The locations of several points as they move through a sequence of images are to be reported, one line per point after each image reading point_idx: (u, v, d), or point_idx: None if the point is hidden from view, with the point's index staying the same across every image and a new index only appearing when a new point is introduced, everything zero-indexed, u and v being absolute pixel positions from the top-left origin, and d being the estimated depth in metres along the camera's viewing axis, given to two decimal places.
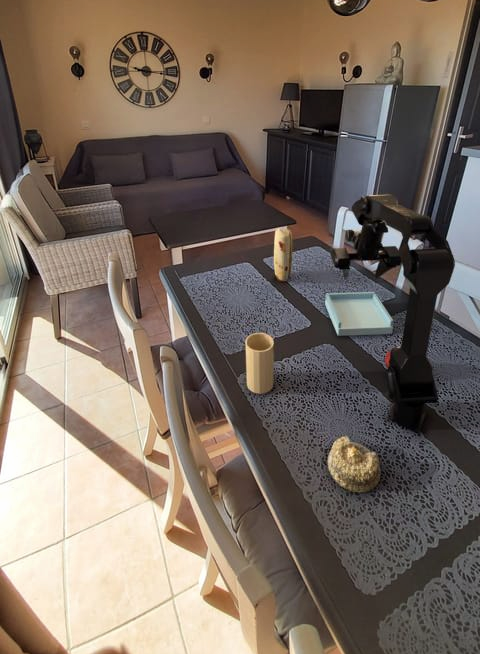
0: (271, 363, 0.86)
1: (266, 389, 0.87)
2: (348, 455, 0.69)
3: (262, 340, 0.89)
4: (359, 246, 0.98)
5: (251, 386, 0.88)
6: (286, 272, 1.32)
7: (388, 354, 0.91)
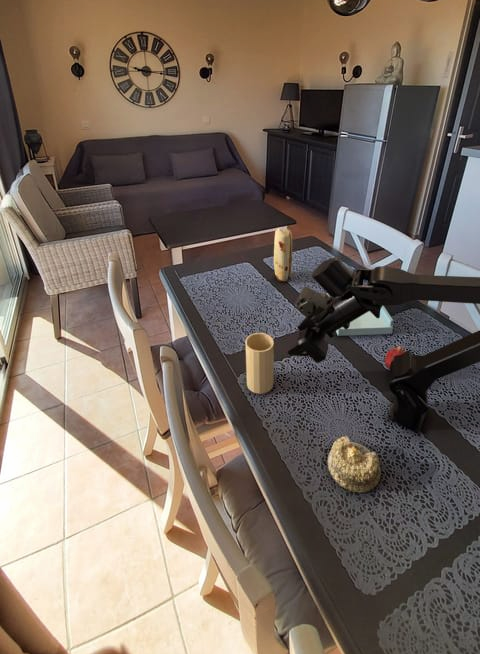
0: (271, 363, 0.86)
1: (266, 389, 0.87)
2: (348, 455, 0.69)
3: (262, 340, 0.89)
4: (333, 324, 0.75)
5: (251, 386, 0.88)
6: (286, 272, 1.32)
7: (388, 354, 0.91)
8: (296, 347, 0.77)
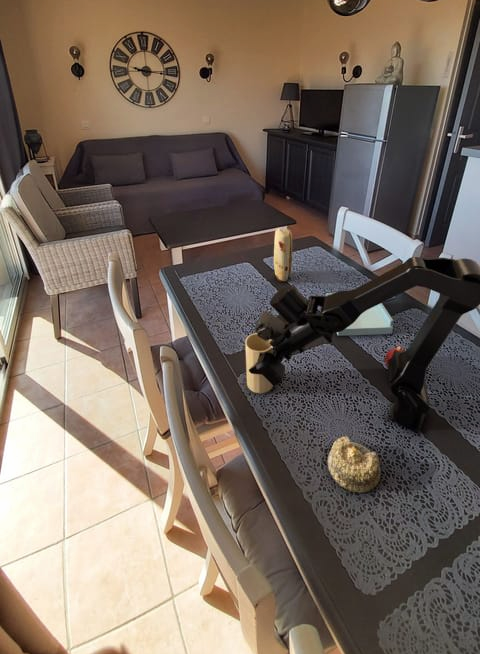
0: None
1: (266, 389, 0.88)
2: (348, 455, 0.69)
3: (262, 340, 0.89)
4: (290, 348, 0.80)
5: (251, 386, 0.88)
6: (286, 272, 1.32)
7: (388, 354, 0.91)
8: None
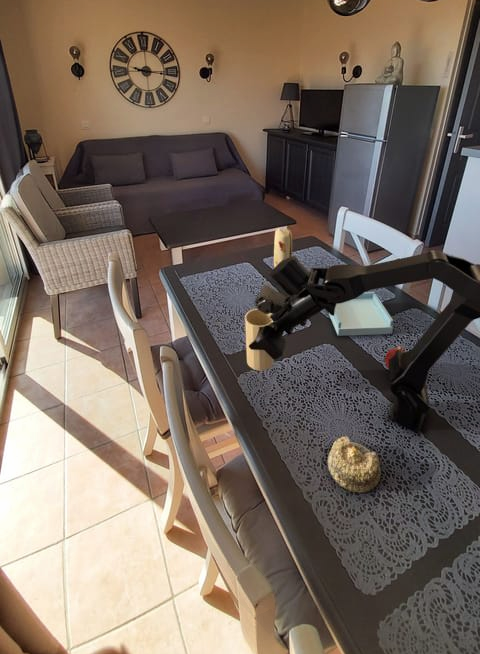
0: None
1: (266, 366, 0.85)
2: (348, 455, 0.69)
3: (262, 316, 0.86)
4: (291, 321, 0.77)
5: (251, 363, 0.85)
6: None
7: (388, 354, 0.91)
8: (256, 341, 0.80)
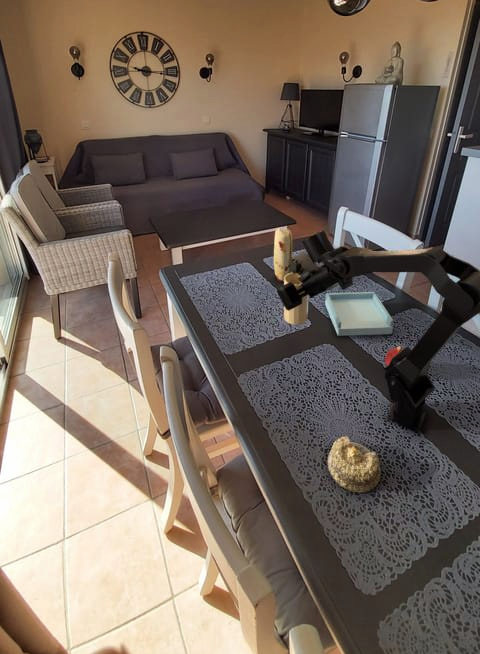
0: None
1: (295, 321, 1.00)
2: (348, 455, 0.69)
3: None
4: (311, 286, 0.90)
5: (284, 315, 1.02)
6: (286, 272, 1.32)
7: (388, 354, 0.91)
8: None
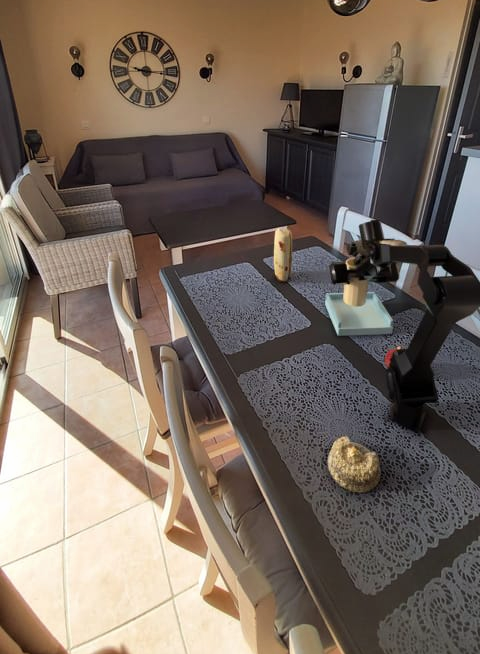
0: (356, 282, 1.05)
1: (349, 302, 1.08)
2: (348, 455, 0.69)
3: None
4: (359, 269, 0.97)
5: None
6: (286, 272, 1.32)
7: (388, 354, 0.91)
8: None
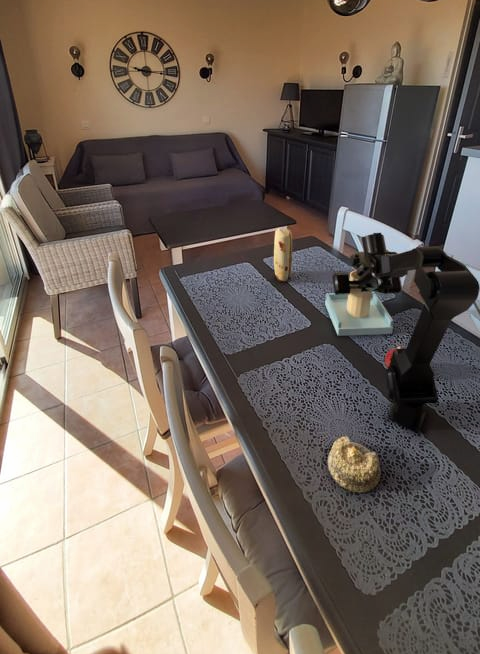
0: (360, 295, 1.07)
1: (352, 313, 1.10)
2: (348, 455, 0.69)
3: None
4: (361, 280, 0.99)
5: None
6: (286, 272, 1.32)
7: (388, 354, 0.91)
8: None
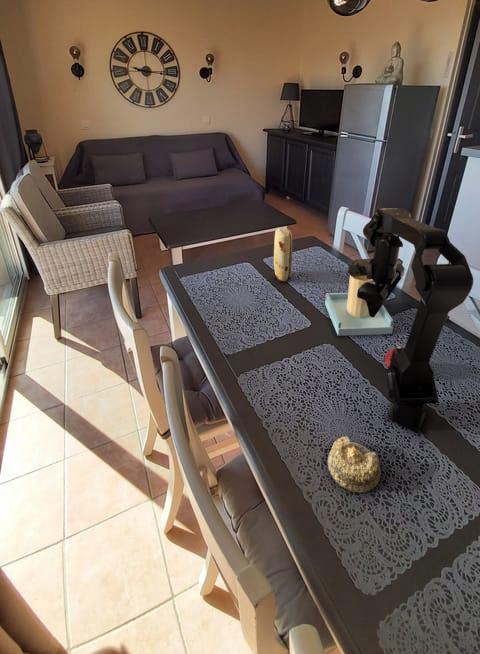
0: None
1: (352, 313, 1.10)
2: (348, 455, 0.69)
3: None
4: (382, 271, 0.89)
5: None
6: (286, 272, 1.32)
7: (388, 354, 0.91)
8: (368, 305, 0.91)
